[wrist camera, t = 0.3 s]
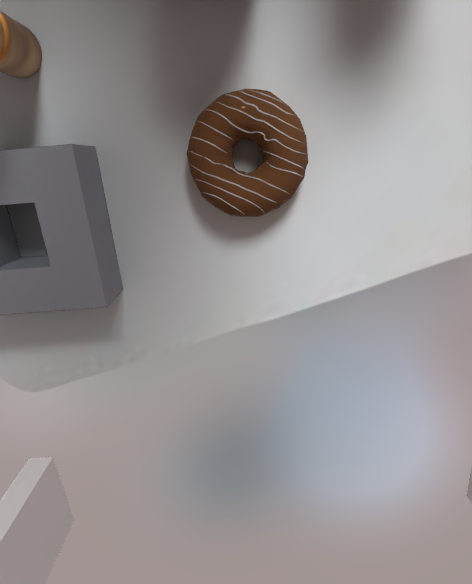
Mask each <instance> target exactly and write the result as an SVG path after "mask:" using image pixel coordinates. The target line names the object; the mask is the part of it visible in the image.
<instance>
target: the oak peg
mask: <svg viewBox="0 0 472 584" xmlns="http://www.w3.org/2000/svg"><path fill="white" fill-rule="evenodd" d="M41 60H42V53H41V48H40V44H39V42H38V40H37V38H36V37H35V35H34V34H33V33H32V32H31V31H30V30H29V29H28V28H26V27H25V26H23V25H21V24H20V23H18V22H17V21H15V20H13V19H12V18H10V17H9V16H7V15H6V14H4V13H2V12H1V11H0V71H2V72H4V73H7V74H10V75H12V76H15V77H18V78H27V77H30V76H32V75H33V74H35V73H36V72H37V70H38V69H39V67H40V64H41Z"/></svg>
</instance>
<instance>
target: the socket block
mask: <svg viewBox="0 0 472 584" xmlns="http://www.w3.org/2000/svg"><path fill="white" fill-rule="evenodd" d="M33 202H34V204H35V208H36V212H37V215H38V219H39V223H40V227H41V231H42V235H43V238H44V242H45V246H46V250H47V254H48V255H47V256H34V257H21V256H20V253H19V249H18V246H17V242H16V239H15V235H14V232H13V228H12V225H11V221H10V218H9V214H8V211H7V207H6V205H9V204H21V203H33ZM122 290H123V287H122V282H121V277H120V272H119V267H118V261H117V256H116V251H115V246H114V241H113V236H112V231H111V226H110V221H109V215H108V210H107V205H106V200H105V195H104V190H103V185H102V180H101V174H100V169H99V164H98V159H97V154H96V149H95V147H93V146H84V145H75V144H68V145H57V146H45V147H34V148H22V149H11V150H0V315H3V314H17V313H31V312H44V311H58V310H72V309H86V308H100V307H107V306H108V305H109V304H110V303H111V302H112V301H113V300H114V298H115V297H116V296H117V295H118V294H119V293H120V292H121V291H122Z"/></svg>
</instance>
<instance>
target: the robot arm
mask: <svg viewBox="0 0 472 584" xmlns="http://www.w3.org/2000/svg"><path fill="white" fill-rule="evenodd" d="M467 496H468V498H469V499H470V501H471V502H472V468H471V474H470V480H469V486H468V491H467ZM73 522H74V517H73V514H72V511H71V508H70V505H69V502H68V499H67V496H66V493H65V490H64V487H63V484H62V481H61V479H60V475H59V472H58V470H57V467H56V464H55V461H54V458H53V457H43V458H29V460H28V461H27V463H26V464H25V466H24V467H23V468H22V470H21V471H20V473H19V474H18V476H17V477H16V478H15V480H14V481H13V483H12V484H11V486H10V487H9V489H8V490H7V492H6V493H5V494H4V496H3V497H2V499H1V500H0V584H46V582H47V579H48V577H49V575H50V573H51V571H52V568H53V566H54V564H55V562H56V559H57V557H58V555H59V553H60V550H61V548H62V546H63V544H64V542H65V540H66V537H67V535H68V533H69V531H70V529H71V526H72V524H73Z"/></svg>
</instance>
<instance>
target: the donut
mask: <svg viewBox="0 0 472 584" xmlns="http://www.w3.org/2000/svg"><path fill="white" fill-rule="evenodd" d="M247 138H248V139H249V140H251V141H256V142H258V144H259V146H260V147H261V148H262V151H261V152H262V153H263V155H264V163H263V164H262V165H261V166H259V167H258V168H257V169H256V170H255V171H254V172H250V173H248V174H246V173H245V172H243V171H238V170H237V169H235V167H234V165H233V160H232V155H233V154H232V148H233V146H234V145H235V144H236V143H237V142H238V141H239V140H240V139H247ZM187 156H188V161H189V165H190V172H191V174H192V177H193V180H194V181H195V183H196V185H197V187H198V189H199V190H200V192H201V194H202V196H203V197H204V198H205V199H206V200H207V201H208V202H210V203H211V204H212V205H214V206H215V207H217V208H218V209H220V210H222V211H224V212H225V213H228V214H230V215H235V216H261V215H263V214H266V213H268V212H270V211H272V210H275V209H277V208H279V207H280V206H281V205H282V204H284V203H285V202H286V201H287V200H288V199H290V198H291V196H292V195H293V194H294V192H295V191H296V189H297V188H298V186H299V184H300V183H301V181H302V180H303V178H304V175H305V169H306V166H307V164H308V154H307V142H306V135H305V132H304V129H303V127H302V124H301V121H300V119H299V118H298V116H297V115H296V114H295V113H294V111H293V110H292V109H291V108H290V107H289V106H288V105H287V104H285V103H284V102H283V101H282V100H280V99H279V98H278V97H276V96H275V95H274V94H272V93H271V92H269V91H265V90H257V89H244V90H239V91H234V92H231V93H227V94H223V95H222V96H221V97H219V98H218V99H217V100H215V101H214V102H213V103H212V104H210V105H209V106H208V107H207V108H206V109H205V110H204V111H203V112H202V113H201V114H200V115H199V117H198V119H197V121H196V123H195V126H194V128H193V131H192V134H191V137H190V140H189V145H188V151H187Z"/></svg>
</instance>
